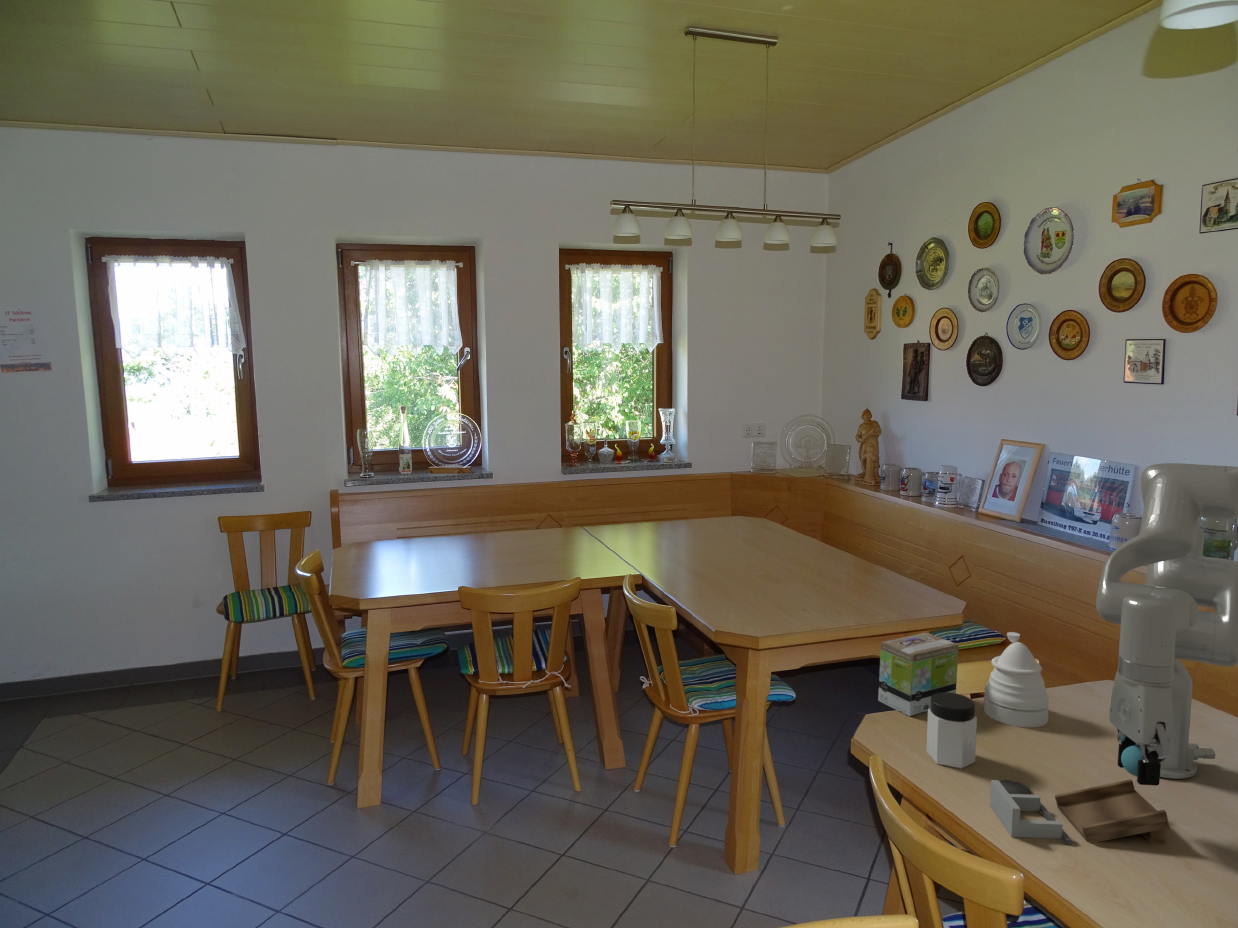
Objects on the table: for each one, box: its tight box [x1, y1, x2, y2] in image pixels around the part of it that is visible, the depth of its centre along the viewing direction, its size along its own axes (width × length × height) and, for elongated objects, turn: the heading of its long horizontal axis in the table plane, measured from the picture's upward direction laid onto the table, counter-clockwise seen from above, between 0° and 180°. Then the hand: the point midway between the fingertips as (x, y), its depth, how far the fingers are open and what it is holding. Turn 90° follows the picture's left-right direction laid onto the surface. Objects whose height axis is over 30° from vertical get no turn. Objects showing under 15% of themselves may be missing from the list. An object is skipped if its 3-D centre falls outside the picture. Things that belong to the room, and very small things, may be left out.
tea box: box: [877, 632, 959, 717], centre depth 179 cm, size 15×10×15 cm
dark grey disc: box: [998, 779, 1033, 795], centre depth 141 cm, size 6×6×1 cm
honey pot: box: [983, 631, 1050, 728], centre depth 172 cm, size 13×13×18 cm
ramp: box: [1054, 779, 1170, 844], centre depth 130 cm, size 13×10×6 cm
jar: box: [926, 692, 978, 769], centre depth 153 cm, size 9×8×12 cm
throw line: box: [1039, 801, 1073, 845], centre depth 131 cm, size 1×12×1 cm, turn 175°
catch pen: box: [989, 779, 1064, 840], centre depth 131 cm, size 8×9×5 cm
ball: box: [1121, 746, 1151, 778], centre depth 128 cm, size 5×5×5 cm
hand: (1137, 774), depth 129 cm, fingers closed on ball, 4 cm apart
